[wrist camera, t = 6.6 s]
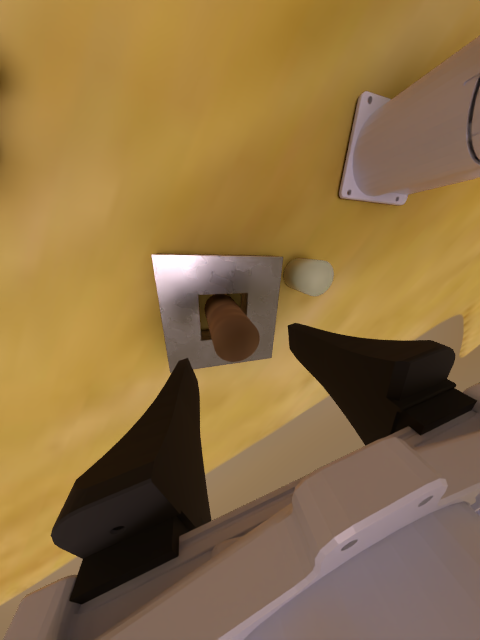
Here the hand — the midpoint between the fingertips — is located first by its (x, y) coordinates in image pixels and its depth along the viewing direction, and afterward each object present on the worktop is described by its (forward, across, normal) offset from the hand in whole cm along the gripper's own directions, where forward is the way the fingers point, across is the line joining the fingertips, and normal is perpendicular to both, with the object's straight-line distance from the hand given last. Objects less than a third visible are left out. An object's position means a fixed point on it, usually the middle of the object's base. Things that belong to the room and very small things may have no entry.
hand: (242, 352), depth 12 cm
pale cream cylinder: (+9, -10, -2) cm, 14 cm away
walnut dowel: (+9, 0, 0) cm, 9 cm away
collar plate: (+9, 0, 0) cm, 9 cm away
